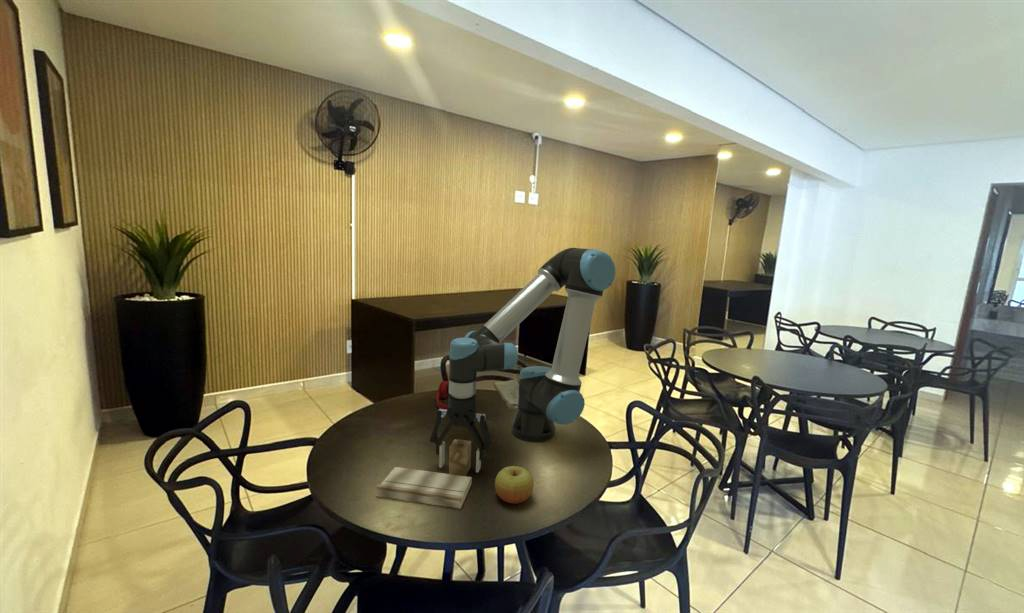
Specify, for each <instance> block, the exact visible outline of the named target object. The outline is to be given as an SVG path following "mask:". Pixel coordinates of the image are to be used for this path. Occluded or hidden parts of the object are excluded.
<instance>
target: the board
mask: <svg viewBox="0 0 1024 613" xmlns="http://www.w3.org/2000/svg"><path fill="white" fill-rule="evenodd" d="M472 480H473V477H471V476H467V475H466V476H462V475H455V474H449V473H443V472H436V471H435V472H434V471H427V470H423V469H421V470H420V469H413V468H408V467H406V468H405V467H397V466H394V467H393V469H392V470H391V471H390V473H388V475H387V476H386V477H385V479H384V480H382V482H381V483H378V484H377V485H376V497H379V498H384V499H392V500H396V501H397V500H399V501H405V502H411V503H419V504H426V505H433V506H439V507H446V508H453V509H458V510H459V509H462V507H463V504H464V502H465V500H466V497H467V495H468V493H469V491H470V488H471V486H472V482H473V481H472Z"/></svg>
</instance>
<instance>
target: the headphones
mask: <svg viewBox="0 0 1024 613" xmlns="http://www.w3.org/2000/svg"><path fill="white" fill-rule="evenodd" d="M435 397H436V398H435V399H436V406H437V407H438V410H439V409H440V408H443V410H448V405H446V404H443V403H442V402H441V401H440V399H447V398H448V397H449V380H444V381H443V380H442V381H441V382H440V384H439V386H438V389H437V392H436V396H435Z"/></svg>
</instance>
